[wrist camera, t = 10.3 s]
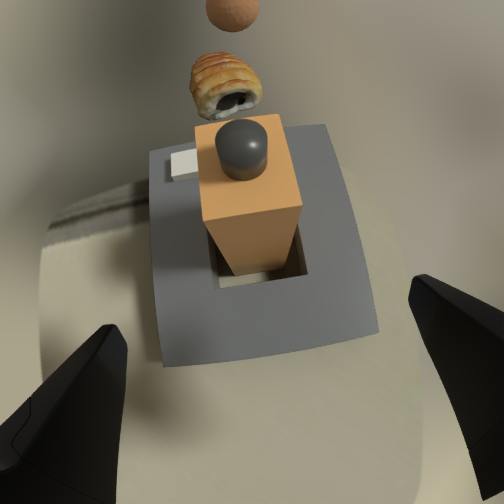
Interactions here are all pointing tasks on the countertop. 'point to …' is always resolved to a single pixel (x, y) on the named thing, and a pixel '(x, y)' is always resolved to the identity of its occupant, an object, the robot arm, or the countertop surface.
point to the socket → (264, 293)
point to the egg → (232, 13)
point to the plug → (248, 191)
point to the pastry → (223, 86)
